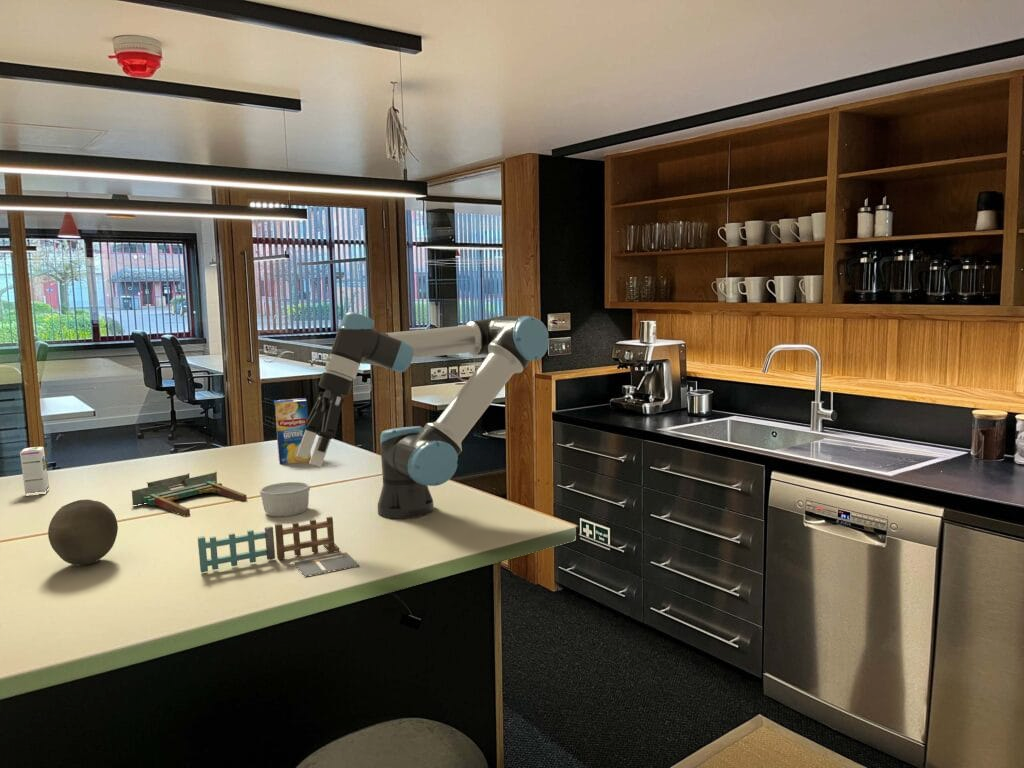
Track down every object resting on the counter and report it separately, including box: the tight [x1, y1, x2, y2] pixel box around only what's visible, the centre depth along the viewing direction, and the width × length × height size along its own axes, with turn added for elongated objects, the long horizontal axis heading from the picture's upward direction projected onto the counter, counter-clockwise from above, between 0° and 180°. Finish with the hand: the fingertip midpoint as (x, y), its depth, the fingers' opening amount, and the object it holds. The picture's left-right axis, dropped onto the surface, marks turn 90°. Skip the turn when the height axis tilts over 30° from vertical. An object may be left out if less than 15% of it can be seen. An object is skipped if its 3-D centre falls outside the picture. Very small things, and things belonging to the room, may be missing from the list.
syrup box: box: [19, 446, 50, 494], centre depth 247 cm, size 6×6×14 cm
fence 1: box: [197, 525, 276, 573], centre depth 175 cm, size 16×2×8 cm, turn 118°
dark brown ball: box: [47, 499, 119, 566], centre depth 179 cm, size 14×14×15 cm
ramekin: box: [259, 481, 311, 518], centre depth 218 cm, size 13×13×7 cm
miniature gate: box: [130, 471, 248, 517], centre depth 234 cm, size 27×6×30 cm
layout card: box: [293, 551, 360, 577], centre depth 175 cm, size 12×10×1 cm
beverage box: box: [273, 397, 312, 465], centre depth 282 cm, size 7×11×22 cm, turn 110°
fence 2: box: [274, 516, 340, 560], centre depth 182 cm, size 14×5×8 cm, turn 118°
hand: (308, 461), depth 185 cm, fingers open, 13 cm apart
